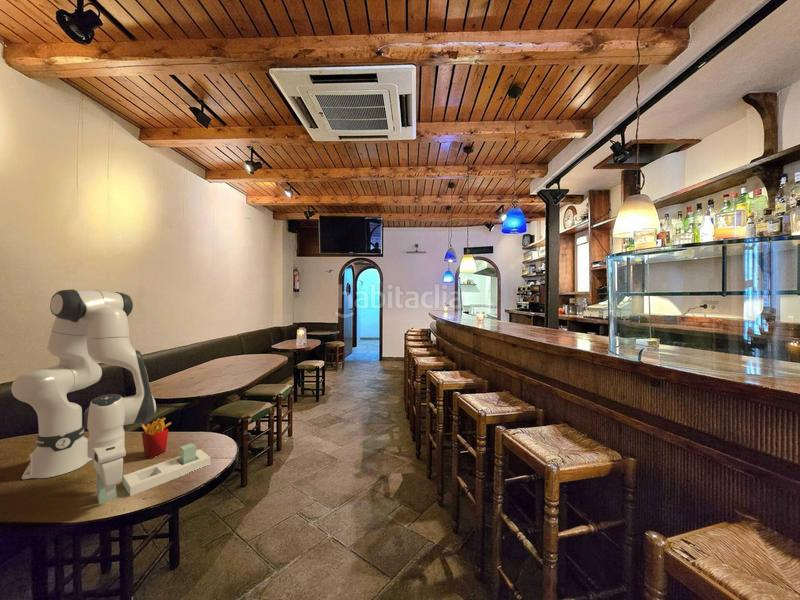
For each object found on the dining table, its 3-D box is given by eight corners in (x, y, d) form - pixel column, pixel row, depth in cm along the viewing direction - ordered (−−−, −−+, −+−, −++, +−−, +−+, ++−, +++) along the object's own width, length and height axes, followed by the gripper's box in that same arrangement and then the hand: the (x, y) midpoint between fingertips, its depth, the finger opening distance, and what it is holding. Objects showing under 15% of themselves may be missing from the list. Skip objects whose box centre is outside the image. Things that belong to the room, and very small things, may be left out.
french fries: (140, 456, 126) (140, 420, 125) (162, 447, 133) (162, 413, 133) (154, 461, 122) (154, 423, 122) (176, 451, 130) (176, 416, 130)
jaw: (96, 498, 100) (96, 473, 100) (113, 492, 103) (113, 468, 103) (99, 503, 98) (99, 478, 98) (116, 497, 101) (116, 472, 101)
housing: (122, 484, 108) (122, 461, 108) (200, 456, 127) (200, 437, 127) (130, 496, 102) (130, 471, 101) (210, 464, 121) (210, 444, 120)
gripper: (87, 440, 104) (87, 480, 104) (99, 461, 92) (99, 506, 92) (112, 433, 109) (112, 472, 109) (127, 452, 97) (127, 496, 97)
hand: (106, 488), depth 101 cm, fingers open, 8 cm apart
